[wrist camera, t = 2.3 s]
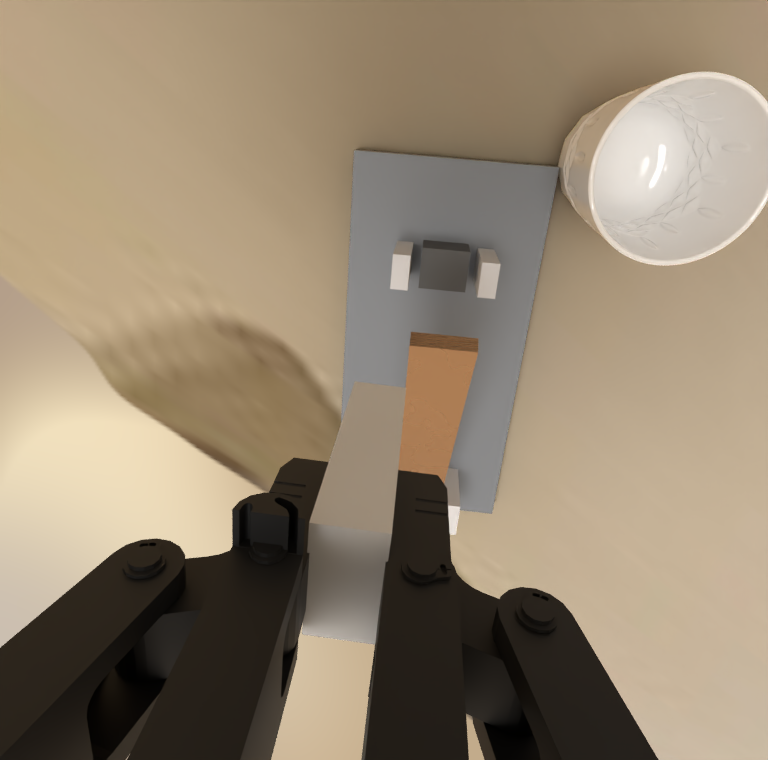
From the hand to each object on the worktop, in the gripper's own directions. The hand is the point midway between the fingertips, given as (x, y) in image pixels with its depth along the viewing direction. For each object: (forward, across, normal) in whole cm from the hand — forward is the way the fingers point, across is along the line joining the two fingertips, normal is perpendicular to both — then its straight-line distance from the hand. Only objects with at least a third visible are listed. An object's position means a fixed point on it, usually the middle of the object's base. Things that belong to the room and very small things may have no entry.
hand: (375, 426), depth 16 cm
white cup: (+22, +12, +8) cm, 26 cm away
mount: (+22, +2, -5) cm, 23 cm away
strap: (+14, +2, -8) cm, 16 cm away
